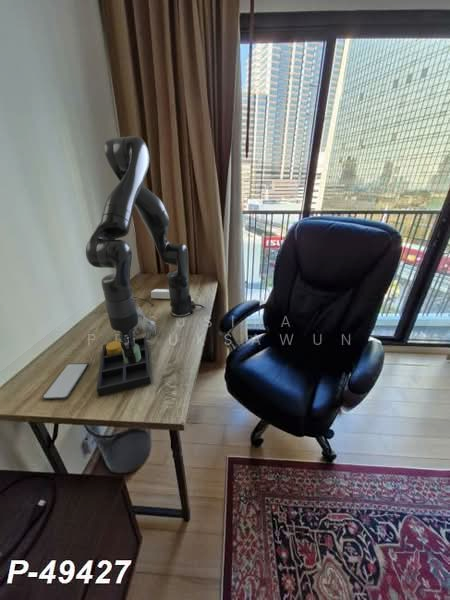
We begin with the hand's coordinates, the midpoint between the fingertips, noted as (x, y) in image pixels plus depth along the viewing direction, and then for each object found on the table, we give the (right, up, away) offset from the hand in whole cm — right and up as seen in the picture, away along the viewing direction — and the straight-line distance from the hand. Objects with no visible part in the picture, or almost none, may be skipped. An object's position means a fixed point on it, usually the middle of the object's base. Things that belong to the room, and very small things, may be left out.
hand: (132, 357), depth 78 cm
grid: (-6, -5, +9) cm, 12 cm away
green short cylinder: (0, 0, 0) cm, 0 cm away
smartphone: (-22, -8, +3) cm, 24 cm away
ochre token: (-11, -2, +14) cm, 18 cm away
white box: (-3, +20, +58) cm, 61 cm away
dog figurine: (-5, +4, +27) cm, 28 cm away
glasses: (-18, +14, +46) cm, 51 cm away
